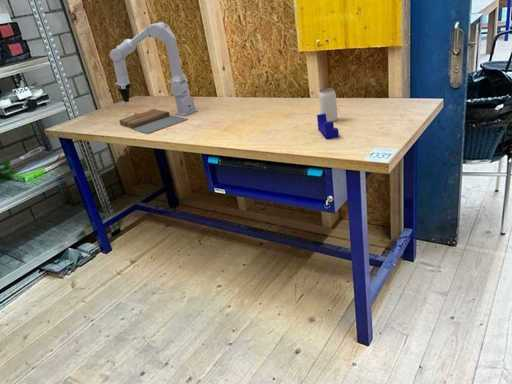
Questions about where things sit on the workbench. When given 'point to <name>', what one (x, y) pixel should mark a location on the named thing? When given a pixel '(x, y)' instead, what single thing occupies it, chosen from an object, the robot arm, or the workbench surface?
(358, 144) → the workbench surface
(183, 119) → the mat
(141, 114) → the tile
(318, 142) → the workbench surface
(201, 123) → the workbench surface
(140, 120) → the deck
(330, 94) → the can
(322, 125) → the blue angular piece
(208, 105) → the workbench surface
